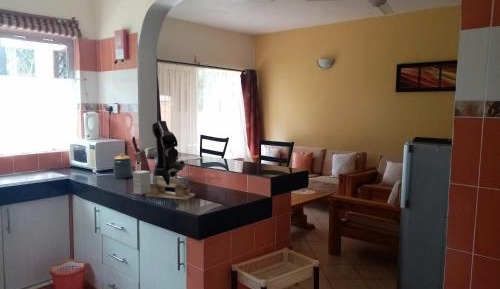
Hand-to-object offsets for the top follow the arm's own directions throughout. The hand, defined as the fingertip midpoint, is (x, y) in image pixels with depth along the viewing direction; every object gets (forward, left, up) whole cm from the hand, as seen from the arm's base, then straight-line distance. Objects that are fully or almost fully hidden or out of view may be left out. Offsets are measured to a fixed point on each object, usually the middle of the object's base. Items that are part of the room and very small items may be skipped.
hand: (169, 184), depth 208 cm
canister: (-42, -66, -7) cm, 78 cm away
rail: (0, 0, -1) cm, 1 cm away
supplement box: (-2, -20, -7) cm, 21 cm away
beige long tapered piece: (0, 0, -6) cm, 7 cm away
